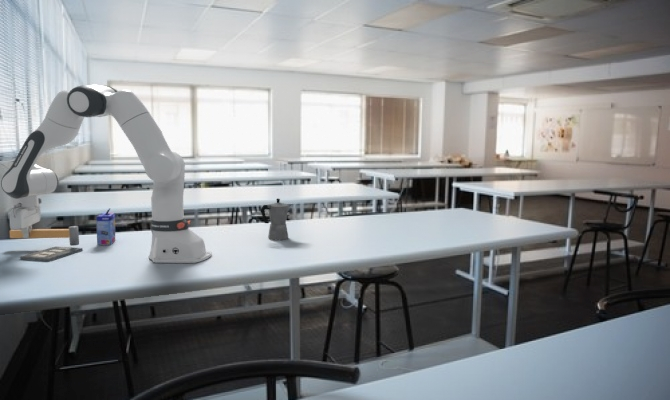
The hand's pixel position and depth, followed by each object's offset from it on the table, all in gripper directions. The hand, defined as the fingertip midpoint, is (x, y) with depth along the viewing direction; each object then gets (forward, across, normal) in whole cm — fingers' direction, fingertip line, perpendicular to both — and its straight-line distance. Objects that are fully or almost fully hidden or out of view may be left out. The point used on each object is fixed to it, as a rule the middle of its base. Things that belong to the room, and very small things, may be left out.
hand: (27, 237), depth 172 cm
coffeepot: (+5, 0, -97) cm, 97 cm away
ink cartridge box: (+5, +8, -26) cm, 28 cm away
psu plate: (+5, -10, -11) cm, 16 cm away
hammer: (+4, +2, -6) cm, 7 cm away
